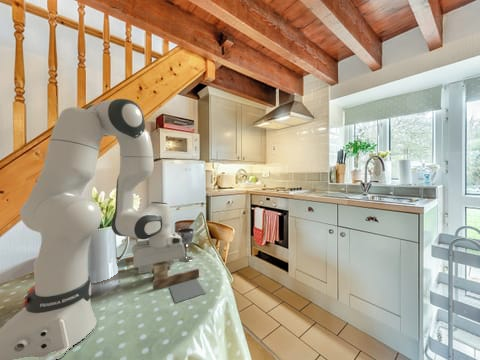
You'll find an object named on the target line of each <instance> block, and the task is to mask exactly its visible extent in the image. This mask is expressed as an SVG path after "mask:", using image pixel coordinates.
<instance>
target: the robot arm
mask: <svg viewBox="0 0 480 360" xmlns="http://www.w3.org/2000/svg"><path fill="white" fill-rule="evenodd" d="M145 122H146V121H145V116H144V114H143V110H142V109H141V107H140V106H139V105H138V104H137V103H136V102H135V101H134V100H131V99H127V98H116V99H111V100H104V101H100V102H97V103H95V104H90V105H88V106H87V107H85V108H81V107H76V106H74V107H68V108H67V107H66V108H65V109H64V110H61V113H60V114H59V116H58V118H57V120H56V121H55V124H54V126H53V129H52V132H51V135H50V139H49V142H48V146H47V149H46V153H45V158H44V162H43V166H42V169H41V171H40V174H39V176H38V178H37V180H36V182H35V183H34V185H33V188H32V189H31V191H30V194H29V196H28V198H27V200H26V201H25V202H24V203H23V205H22V206H21V208H20V211H19V216H20V219H21V221H22V222H23V224H24V225H25V226H26V228H28V229H29V230H31V231H34V232H37V233H39V234H40V236H41V242H40V247H39V252H38V255H37V258H35V260H34V262H33V276H34V278H33V280H34V285H33V286H31V287H29V290H28V291H27V294H26V295H25V297H24V301H22V309H21V310H20V311H18V312H17V313H16V314H15V315H13V316H12V317H11V318H10V319H8V320H7V321H6V322H5V323H4V325H2V326H1V328H0V360H13V359H19V358H24V357H31V356H32V357H33V356H34V357H39V358H40V357H41V358H42V357H47V355H48V354H49V353H51V352H54V351H56V354H55V355H54V356H52V357H57V356H59V355H60V354H59V351H60V353H61V354H62V353H64V352H65V351H66V350H67V349H68V348H69V347H71V346H72V345H74V344H75V343H77V342H79V341H80V340H81V339H83V338H84V337H85V336H86V335H87V334H89V333H90V332H91V330H92V329H93V328H94V327H95V325H96V326H97V324H98V319H97V317H96V315H95V313H94V310H93V307H92V300H91V295H92V282H91V277H90V275H89V257H88V256H89V250H90V249H89V248H90V243H91V241H92V237H93V235H94V233H95V232H96V231H97V230H98V229H99V227H100V225H101V223H102V220H103V214H102V212H103V211H102V210H101V208H100V207H99V206H98V205H97V204H96V203H94V202H93V201H91V200H89V199H88V198H85V197H82V193H83V192H84V189H86V186H87V184H89V182H91V180H93V178H94V176H95V172H96V167H97V164H98V159H99V153H100V148H101V143H102V139H103V138H104V137H109V136H110V137H111V136H113V137H115V139H116V141H117V142H118V145H119V157H120V158H119V161H120V163H119V173H118V176H117V180H116V186H115V188H116V189H115V190H116V191H115V208H114V213H113V215H112V216H113V217H112V220H111V225H110V227H111V230H112V231H113V233H114V234H115V236H118V237H128V238H132V239H137V240H138V239H149V241H148V242H143V243H137V242H136V244H133V246H132V249H131V252H132V254H133V257H132V259H133V260H132V266H133V267H134V268H138V267H141V266H146V265H147V268H148V269H149V270H150V272H149V275H151V276H152V275H153V274H154V268H152V269H151V264H152V265H153V264H155V263H160V262H165V261H166V262H168V263H167V268H168V271H171V266H172V264H173V262H174V260H179V258H183V257H184V256H185V249H184V245H183V243H182V238H181V236H180V235H178V234H177V233H172V231H171V224H172V215H171V207H170V205H169V204H168V203H167V202H163V201H161V202H160V201H151V202H149V205H148V206H147V207H146V208H144V209H143V210H142V211H140V212H138V211H136V210H135V209H134V198H135V197H134V196H135V189H136V188H137V186H138V185H139V184H141V183H142V182H144V181H146V180H148V179H149V177H151V175H152V174H153V172H154V165H155V164H154V149H153V144H152V140H151V139H152V137H151V136H150V133H149V131H148V130H146V123H145ZM133 194H134V195H133ZM148 244H149V245H148ZM96 323H97V324H96ZM95 328H96V327H95ZM95 328H94V329H95ZM91 333H92V332H91ZM91 333H90V334H91ZM90 334H89V335H90Z"/></svg>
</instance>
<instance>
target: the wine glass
mask: <svg viewBox="0 0 480 360" xmlns="http://www.w3.org/2000/svg"><path fill="white" fill-rule="evenodd" d="M194 232H195V231H194V229H193V228H191V227H184V228H180V229H177V232H176V234H178V235H180V236H181V238H182V243H183V245H184V250H185V255H184V257H183V258H179V259H178V262H180V263H189V262H191V261H192V260H193V259H194V257H192V255H191V256H190V255H187V254H188V253H187V251H188V247H189V246H190V244H191V243H193V239H194Z"/></svg>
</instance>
